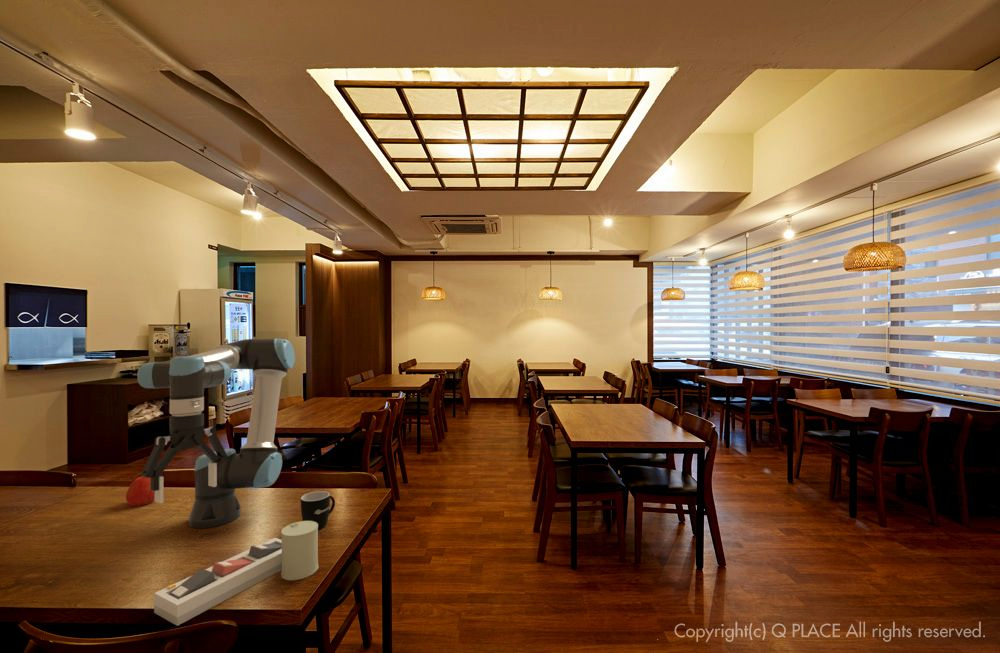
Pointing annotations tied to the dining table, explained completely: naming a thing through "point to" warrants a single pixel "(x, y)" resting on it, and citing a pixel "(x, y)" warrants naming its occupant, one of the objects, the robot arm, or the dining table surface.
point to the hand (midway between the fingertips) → (187, 493)
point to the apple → (140, 492)
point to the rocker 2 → (264, 549)
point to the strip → (217, 587)
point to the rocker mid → (229, 566)
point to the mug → (316, 507)
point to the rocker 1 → (193, 583)
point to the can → (299, 550)
